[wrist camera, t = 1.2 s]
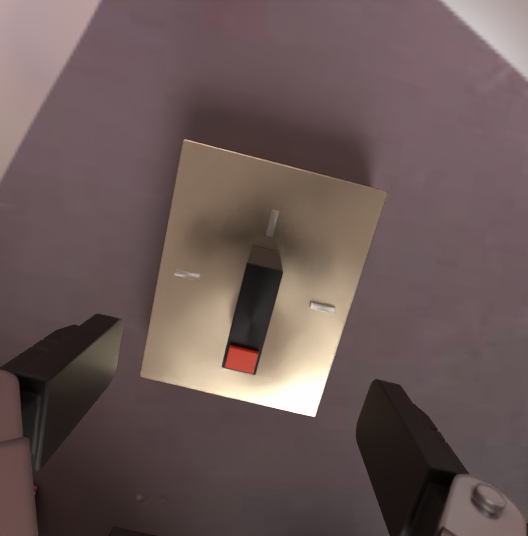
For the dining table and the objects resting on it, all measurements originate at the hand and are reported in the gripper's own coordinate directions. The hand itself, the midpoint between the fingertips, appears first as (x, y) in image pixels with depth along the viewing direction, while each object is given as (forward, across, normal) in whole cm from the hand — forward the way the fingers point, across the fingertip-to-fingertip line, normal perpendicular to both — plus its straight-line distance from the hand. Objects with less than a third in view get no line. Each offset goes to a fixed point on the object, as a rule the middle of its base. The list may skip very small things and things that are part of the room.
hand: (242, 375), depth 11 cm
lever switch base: (+12, 0, 0) cm, 12 cm away
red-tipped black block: (+9, 0, 0) cm, 9 cm away
